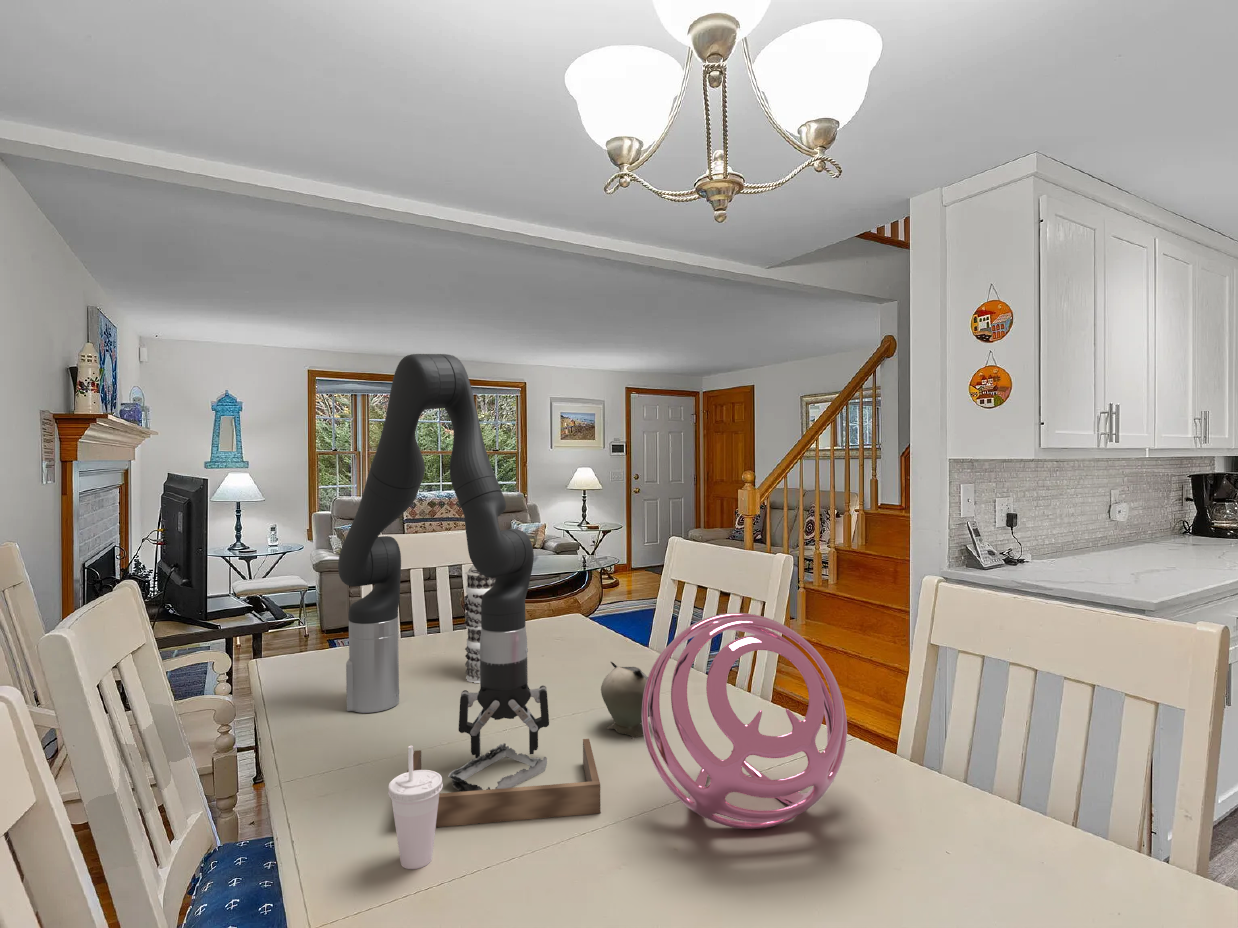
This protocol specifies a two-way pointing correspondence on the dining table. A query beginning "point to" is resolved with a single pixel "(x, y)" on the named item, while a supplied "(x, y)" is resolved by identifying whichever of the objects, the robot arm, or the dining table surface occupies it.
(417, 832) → the smoothie
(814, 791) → the pink openwork sphere
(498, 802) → the box
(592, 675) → the dining table surface
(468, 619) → the decorative candle
